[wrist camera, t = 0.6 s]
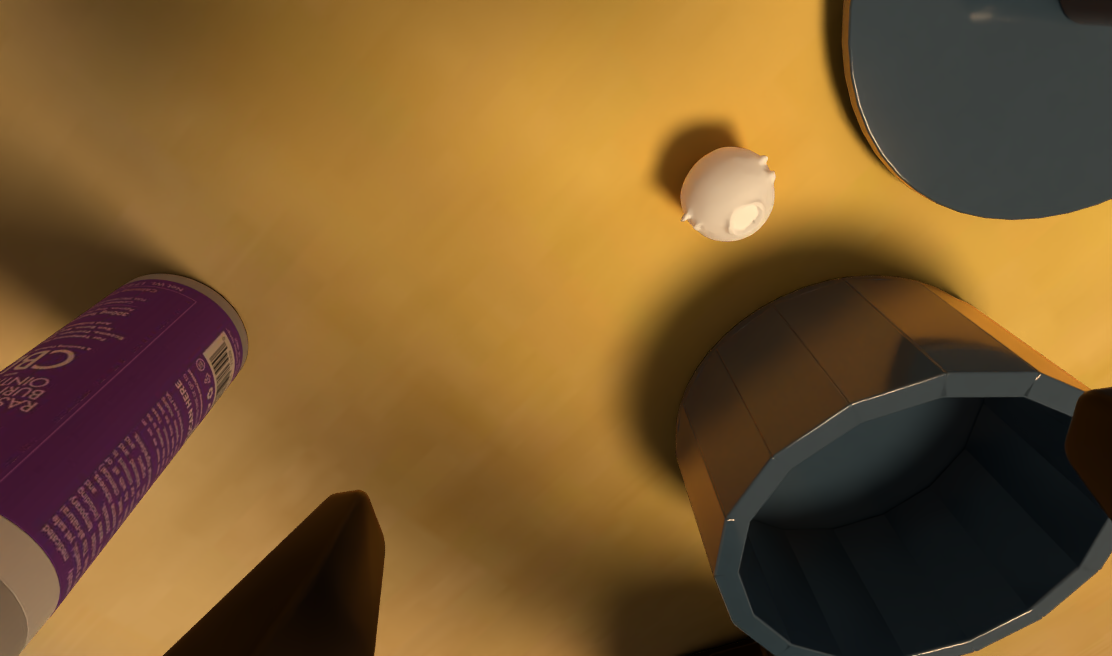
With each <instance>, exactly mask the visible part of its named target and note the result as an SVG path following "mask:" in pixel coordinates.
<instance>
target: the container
mask: <svg viewBox="0 0 1112 656" xmlns="http://www.w3.org/2000/svg"><path fill="white" fill-rule="evenodd" d="M247 353H248V339H247V334H246V330H245V328H244V325H243V323H242V321H241V319H240V317H239V316H238V314H237V313H236V311H235V310H234V309H233V308H232V306H231V305H230V304H229V303H228V302H227V301H226V300H225V299H224V298H223V297H222V296H220V295H219V294H218V293H216V292H215V291H214V290H212V289H210V288H209V287H207V286H205V285H203V284H202V283H199V282H197V281H195V280H192V279H189V278H186V277H182V276H178V275H173V274H149V275H144V276H141V277H137V278H135V279H133V280H131V281H129V282H127V283H126V284H124V285H123V286H121V287H120V288H118V289H117V290H115V291H114V292H112V293H111V294H110V295H108V296H107V297H105V298H104V299H103V300H101V301H100V302H98V303H97V304H95V305H94V306H93V307H91V308H90V309H88V310H87V311H86V312H84V313H83V314H81V315H80V316H79V317H77V318H76V319H74V320H73V321H71V322H70V323H69V324H67V325H66V326H64V327H63V328H62V329H60V330H59V331H57V332H56V333H54V334H53V335H52V336H50V337H49V338H47V339H46V340H45V341H43V342H42V343H40V344H39V345H38V346H36V347H35V348H33V349H32V350H30V351H29V352H28V353H26V354H25V355H23V356H22V357H21V358H19V359H18V360H16V361H15V362H13V363H12V364H11V365H9V366H8V367H6V368H5V369H4V370H2V371H1V372H0V656H18V655H19V654H20V653H21V652H22V650H23V649H24V648H25V647H26V645H27V644H28V643H29V642H30V641H31V639H32V638H33V637H34V636H35V635H36V633H37V632H38V631H39V630H40V628H41V627H42V626H43V625H44V624H45V622H46V621H47V620H48V619H49V618H50V617H51V616H52V614H53V613H54V612H55V610H56V609H57V608H58V606H59V605H60V604H61V603H62V601H63V600H64V599H65V597H66V596H67V595H68V594H69V592H70V591H71V590H72V588H73V587H74V586H75V584H76V583H77V582H78V581H79V579H80V578H81V577H82V575H83V574H84V573H85V571H86V570H87V569H88V568H89V566H90V565H91V564H92V562H93V561H94V560H95V558H96V557H97V556H98V555H99V553H100V552H101V551H102V549H103V548H104V547H105V546H106V544H107V543H108V542H109V540H110V539H111V538H112V536H113V535H114V534H115V533H116V531H117V530H118V529H119V527H120V526H121V525H122V523H123V522H124V521H125V520H126V518H127V517H128V516H129V514H130V513H131V512H132V511H133V509H134V508H135V507H136V505H137V504H138V503H139V501H140V500H141V499H142V498H143V496H144V495H145V494H146V492H147V491H148V490H149V488H150V487H151V486H152V485H153V483H154V482H155V481H156V479H157V478H158V477H159V476H160V474H161V473H162V472H163V470H164V469H165V468H166V466H167V465H168V464H169V463H170V461H171V460H172V459H173V457H174V456H175V455H176V453H177V452H178V451H179V450H180V448H181V447H182V446H183V444H184V443H185V442H186V441H187V439H188V438H189V437H190V435H191V434H192V433H193V431H194V430H195V429H196V428H197V426H198V425H199V424H200V422H201V421H202V420H203V418H204V417H205V416H206V415H207V413H208V412H209V411H210V409H211V408H212V407H213V406H214V404H215V403H216V402H217V400H218V399H219V398H220V396H221V395H222V394H223V393H224V391H225V390H226V389H227V387H228V386H229V385H230V383H231V382H232V381H233V380H234V378H235V377H236V376H237V374H238V373H239V371H240V370H241V369H242V367H243V365H244V363H245V360H246V357H247Z"/></svg>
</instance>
